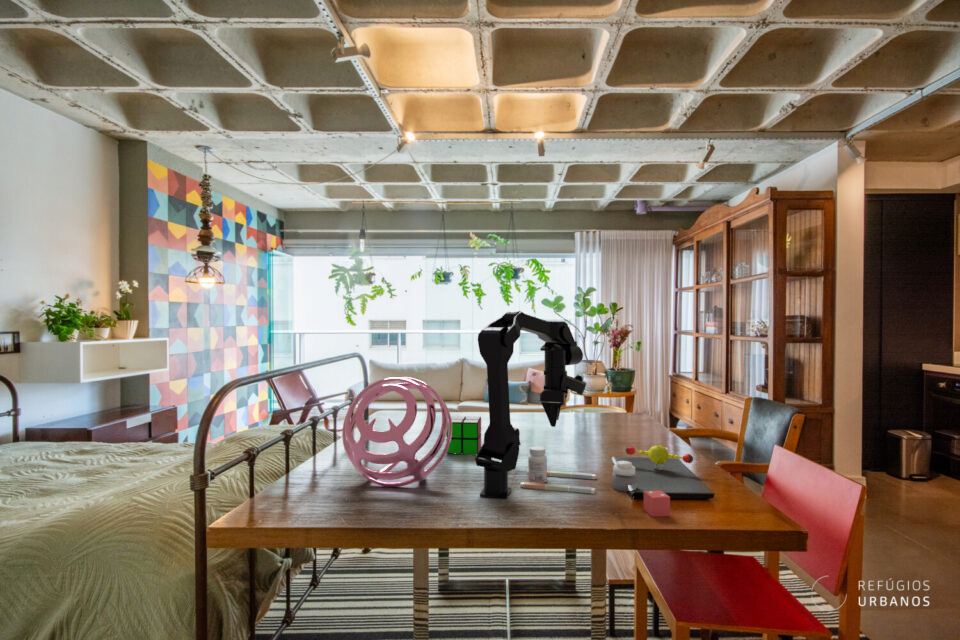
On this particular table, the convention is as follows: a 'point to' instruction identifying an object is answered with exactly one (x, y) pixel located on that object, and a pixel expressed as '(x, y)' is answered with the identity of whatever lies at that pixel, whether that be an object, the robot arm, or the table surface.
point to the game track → (617, 483)
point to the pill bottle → (537, 465)
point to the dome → (624, 468)
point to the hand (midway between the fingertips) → (554, 423)
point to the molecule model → (659, 454)
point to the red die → (656, 503)
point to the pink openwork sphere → (395, 433)
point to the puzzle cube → (465, 435)
